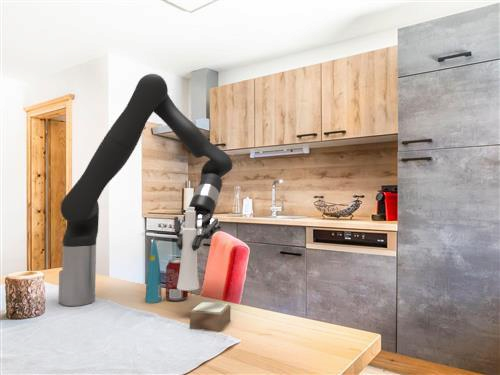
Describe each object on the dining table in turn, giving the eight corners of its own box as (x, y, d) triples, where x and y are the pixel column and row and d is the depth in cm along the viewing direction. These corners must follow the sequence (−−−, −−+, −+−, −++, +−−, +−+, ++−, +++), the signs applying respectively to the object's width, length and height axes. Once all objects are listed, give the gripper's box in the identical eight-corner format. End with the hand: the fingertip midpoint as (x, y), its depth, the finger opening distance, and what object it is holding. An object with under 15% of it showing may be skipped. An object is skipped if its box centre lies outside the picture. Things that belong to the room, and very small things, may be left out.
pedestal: (189, 328, 90) (189, 310, 90) (201, 318, 98) (201, 301, 98) (220, 331, 88) (221, 313, 88) (230, 320, 96) (230, 303, 96)
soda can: (182, 302, 112) (183, 263, 112) (162, 301, 113) (162, 262, 113) (190, 296, 118) (191, 259, 118) (171, 295, 119) (171, 258, 120)
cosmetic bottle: (173, 289, 98) (175, 206, 98) (182, 284, 104) (184, 206, 104) (194, 291, 96) (197, 207, 97) (202, 286, 102) (204, 207, 103)
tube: (143, 298, 116) (145, 237, 116) (159, 297, 117) (160, 236, 118) (147, 305, 109) (148, 240, 109) (163, 303, 111) (164, 239, 111)
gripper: (178, 192, 109) (158, 238, 97) (224, 194, 106) (208, 241, 94) (185, 210, 114) (166, 255, 102) (228, 211, 111) (214, 258, 99)
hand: (186, 248), depth 98 cm, fingers closed on cosmetic bottle, 3 cm apart
